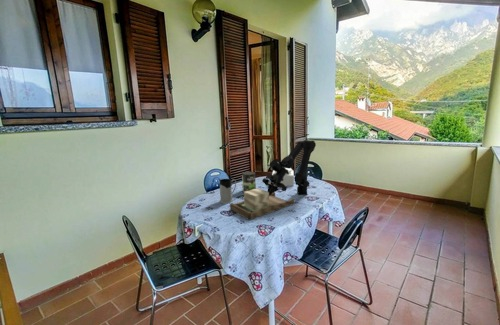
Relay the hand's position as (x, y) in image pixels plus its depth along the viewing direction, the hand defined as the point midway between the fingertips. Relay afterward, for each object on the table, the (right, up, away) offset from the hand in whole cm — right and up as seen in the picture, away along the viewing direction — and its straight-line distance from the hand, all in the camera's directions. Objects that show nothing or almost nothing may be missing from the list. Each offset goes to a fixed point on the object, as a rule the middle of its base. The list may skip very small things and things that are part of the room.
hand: (267, 195), depth 159 cm
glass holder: (-26, -5, +14) cm, 30 cm away
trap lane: (-3, -7, -1) cm, 8 cm away
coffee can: (-12, -1, +32) cm, 34 cm away
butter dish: (+17, +4, +50) cm, 52 cm away
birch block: (-7, -6, -4) cm, 10 cm away
